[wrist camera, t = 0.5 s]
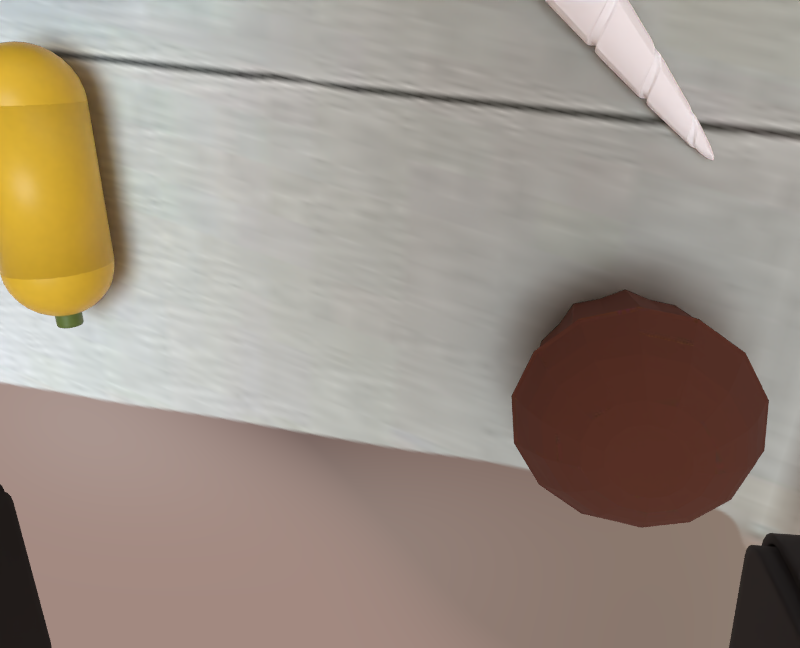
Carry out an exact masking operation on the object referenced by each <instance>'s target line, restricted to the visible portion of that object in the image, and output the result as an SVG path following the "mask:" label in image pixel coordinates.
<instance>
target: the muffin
mask: <svg viewBox="0 0 800 648" xmlns="http://www.w3.org/2000/svg"><path fill="white" fill-rule="evenodd" d="M768 403H769V400H768V398H767V396H766V394H765V392H764V390H763V388H762V386H761V384H760V382H759V380H758V378H757V376H756V374H755V372H754V369H753V367H752V365H751V363H750V361H749V359H748V357H747V355H746V353H745V352H743V351H742V350H741V349H739V348H738V347H737V346H735V345H734V344H732V343H731V342H730V341H728V340H727V339H725V338H724V337H723V336H721V335H720V334H719V333H717V332H716V331H714V330H713V329H712V328H710V327H709V326H707V325H706V324H705V323H703V322H702V321H701V320H699V319H697V318H693V317H691V316H690V315H688V314H687V313H685V312H684V311H682V310H681V309H679V308H678V307H676V306H675V305H670V304H666V303H662V302H657V301H653V300H649V299H646V298H644V297H641V296H639V295H637V294H634V293H632V292H630V291H627V290H622V291H620V292H617V293H614V294H612V295H609V296H606V297H604V298H601V299H596V300H591V301H586V302H580V303H575V304H573V305H572V307H571V308H570V310H569V311H568V313H567V314H566V315H565V317H564V318H563V320H562V321H561V322H560V324H559V325H558V326H557V327H556V328H555V329H554V330H553V331H552V332H551V333H549V334H548V335H547V336H546V337H545V338H544V339H543V340H542V342H541V345H540V347H539V348H538V349H537V350H535V351H534V352H533V354H532V356H531V358H530V360H529V362H528V364H527V366H526V368H525V370H524V372H523V374H522V376H521V378H520V380H519V382H518V384H517V386H516V388H515V390H514V392H513V394H512V412H513V431H514V444H515V445H516V447H517V449H518V450H519V452H520V454H521V455H522V457H523V459H524V460H525V462H526V464H527V465H528V467H529V469H530V470H531V472H532V473H533V475H534V477H535V478H536V480H537V482H538V483H539V485H541V486H542V487H544V488H545V489H546V490H548V491H549V492H551V493H552V494H554V495H555V496H557V497H558V498H560V499H561V500H563V501H564V502H566V503H567V504H568V505H570V506H571V507H573V508H574V509H576V510H577V511H579V512H580V513H582V514H586V515H590V516H595V517H599V518H603V519H608V520H613V521H617V522H621V523H625V524H629V525H633V526H637V527H650V526H658V525H668V524H677V523H686V522H691V521H693V520H694V519H696V518H698V517H700V516H701V515H704V514H705V513H707V512H709V511H711V510H713V509H715V508H716V507H718V506H720V505H722V504H724V503H726V502H727V501H729V500H731V499H732V497H733V496H734V494H735V493H736V491H737V490H738V489H739V487H740V486H741V484H742V483H743V481H744V480H745V478H746V477H747V475H748V474H749V473H750V471H751V470H752V468H753V467H754V465H755V464H756V462H757V460H758V459H759V457H760V456H761V454H762V453H763V452H764V447H765V436H766V425H767V414H768Z"/></svg>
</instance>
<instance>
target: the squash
mask: <svg viewBox="0 0 800 648" xmlns="http://www.w3.org/2000/svg"><path fill="white" fill-rule="evenodd" d="M114 269H115V264H114V254H113V248H112V242H111V236H110V231H109V225H108V219H107V213H106V207H105V201H104V195H103V189H102V183H101V177H100V171H99V166H98V160H97V154H96V148H95V142H94V136H93V130H92V124H91V118H90V112H89V107H88V100H87V97H86V93H85V89H84V87H83V85H82V83H81V81H80V79H79V77H78V76H77V75H76V73H75V72H74V70H73V69H72V68H71V67H70V66H69V65H68V64H67V63H66V62H65V61H64V60H63V59H62V58H60V57H59V56H57V55H56V54H54V53H53V52H51V51H49V50H47V49H45V48H43V47H41V46H38V45H34V44H30V43H26V42H4V43H0V275H1V277H2V280H3V283H4V285H5V286H6V288H7V290H8V291H9V293H10V294H11V295H12V296H13V297H14V298H15V299H16V300H17V301H18V302H19V303H21V304H22V305H24V306H25V307H27V308H28V309H31V310H33V311H35V312H38V313H40V314H45V315H51V316H55V318H56V323H57V326H58V327H59V328H73V327H76V326H79V325H81V324H82V323H83V316H82V312H83V311H85V310H87V309H88V308H90V307H92V306H94V305H95V304H96V303H97V302H98V301H99V300H100V299H102V297H103V296H104V295H105V293H106V292H107V291H108V289H109V287H110V285H111V282H112V280H113V275H114Z"/></svg>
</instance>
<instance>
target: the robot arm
mask: <svg viewBox="0 0 800 648" xmlns="http://www.w3.org/2000/svg"><path fill="white" fill-rule="evenodd" d="M0 648H51V642H50V638H49V634H48V631H47V627H46V623H45V620H44V615H43V612H42V608H41V604H40V600H39V597H38V593H37V589H36V585H35V582H34V578H33V574H32V571H31V567H30V563H29V559H28V556H27V552H26V548H25V545H24V541H23V537H22V533H21V529H20V526H19V522H18V518H17V515H16V511H15V507H14V503H13V500H12V498H11V496H10V495H9V494H8V493H6V492H4V489H3V487H2V486H1V485H0ZM729 648H800V535H790V534H775V533H770V534H767V535H766V537H765V538H764V540H763V543H762V546H758V545H750V546H749V547H748V548H747V550H746V554H745V558H744V564H743V570H742V575H741V581H740V587H739V593H738V599H737V605H736V610H735V616H734V622H733V628H732V634H731V640H730V645H729Z"/></svg>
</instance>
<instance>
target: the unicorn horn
mask: <svg viewBox="0 0 800 648" xmlns="http://www.w3.org/2000/svg"><path fill="white" fill-rule="evenodd" d="M545 1H546V2H547V3H548V4H549V5H550V6H551V8H552V9H553V10H554V11H555V12H556V13H557V14H558V15H559V16H560V17H561V18H562V19H563V20H564V21H565V22H566V23H567V24H568V25H569V26H570V27H571V28H572V29H573V30H574V31H575V33H576V34H577V35H578V36H579V37H580V38H581V39H582V40H583V41H584V42H585V43H586V44H587V45H596V47H595V53H596V54H597V55H598V56H599V57H600V58H601V59H602V60H603V61H604V62H605V63H606V64H607V65H608V66H609V67H610V68H611V69H612V70H613V71H614V72H615V73H616V74H617V75H618V76H619V77H620V78H621V79H622V81H623V82H624V83H625V84H626V85H627V86H628V87H629V88H630V89H631V90H632V91H633V92H634V93H635V94H636V95H637V96H638V97H639V98H647V105H648V106H649V107H650V108H651V109H652V110H653V111H654V112H655V113H656V114H657V115H658V116H659V117H660V118H661V119H662V120H663V121H664V122H665V123H666V124H668V125H669V126H670V127H671V128H672V129H673V130H674V131H675V132H676V133H677V134H678V135H679V136H680V137H681V138H682V139H684V140H685V141H686V142H687V143H688V144H689V145H690V146H691V147H693V148H696V149H697V151H698V152H699V153H700V154H702V155H703V156H705V157H706V158H707V159H710V160H714V154H713V151H712V148H711V146H710V143H709V141H708V139H707V137H706V135H705V133H704V131H703V129H702V127H701V125H700V123H699V121H698V120H697V118H696V116H695V115H694V114H693V112H692V110H691V107H690V105H689V103H688V101H687V100H686V98H685V96H684V94H683V93H682V91H681V89H680V87H679V86H678V84H677V82H676V80H675V79H674V77H673V75H672V73H671V71H670V70H669V68H668V66H667V64H666V63H665V61H664V59H663V57H662V56H661V54H660V53H659V52H658V51H657V50H656V49H655V47H654V43H653V41H652V39H651V37H650V36H649V34H648V32H647V31H646V29H645V27H644V26H643V24H642V22H641V21H640V19H639V17H638V16H637V14H636V12H635V11H634V9H633V7H632V6H631V4H630V2H629V0H545Z"/></svg>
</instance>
